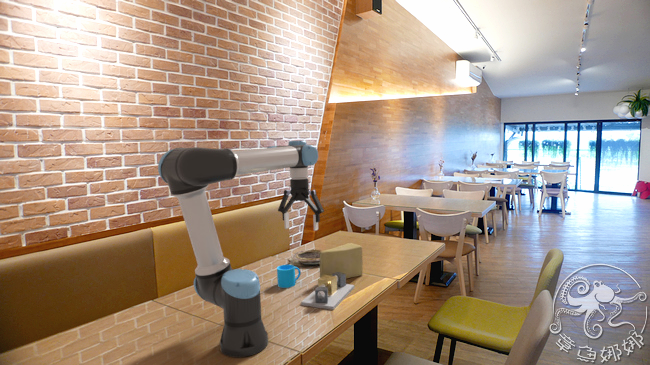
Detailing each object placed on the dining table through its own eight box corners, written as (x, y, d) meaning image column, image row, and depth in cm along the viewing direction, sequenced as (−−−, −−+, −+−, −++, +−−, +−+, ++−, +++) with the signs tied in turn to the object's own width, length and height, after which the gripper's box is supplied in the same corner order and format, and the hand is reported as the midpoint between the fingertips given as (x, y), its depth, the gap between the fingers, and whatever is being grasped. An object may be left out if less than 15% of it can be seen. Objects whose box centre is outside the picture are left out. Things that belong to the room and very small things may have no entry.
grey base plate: (333, 309, 144) (333, 306, 144) (301, 304, 150) (301, 301, 150) (354, 287, 166) (354, 284, 166) (325, 284, 172) (325, 281, 172)
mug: (283, 289, 168) (282, 271, 167) (274, 284, 174) (273, 267, 173) (305, 282, 175) (305, 265, 174) (295, 278, 181) (295, 261, 181)
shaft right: (338, 282, 170) (337, 271, 169) (346, 285, 166) (345, 273, 166) (327, 287, 165) (327, 275, 164) (335, 289, 161) (335, 278, 161)
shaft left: (327, 303, 148) (327, 290, 147) (315, 303, 148) (315, 290, 148) (328, 296, 155) (328, 284, 154) (317, 296, 155) (316, 284, 155)
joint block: (337, 289, 161) (336, 276, 160) (331, 295, 156) (331, 281, 155) (324, 288, 163) (323, 274, 163) (318, 293, 158) (318, 279, 157)
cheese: (327, 287, 168) (326, 254, 167) (314, 281, 176) (313, 250, 175) (363, 275, 181) (363, 245, 180) (350, 270, 189) (349, 241, 188)
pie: (317, 252, 226) (317, 244, 225) (347, 262, 204) (347, 254, 204) (277, 262, 209) (277, 253, 208) (305, 275, 187) (305, 265, 187)
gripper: (330, 177, 153) (332, 228, 155) (277, 177, 163) (280, 225, 165) (323, 179, 146) (325, 232, 148) (268, 179, 156) (270, 229, 158)
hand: (301, 229), depth 156 cm, fingers open, 13 cm apart
